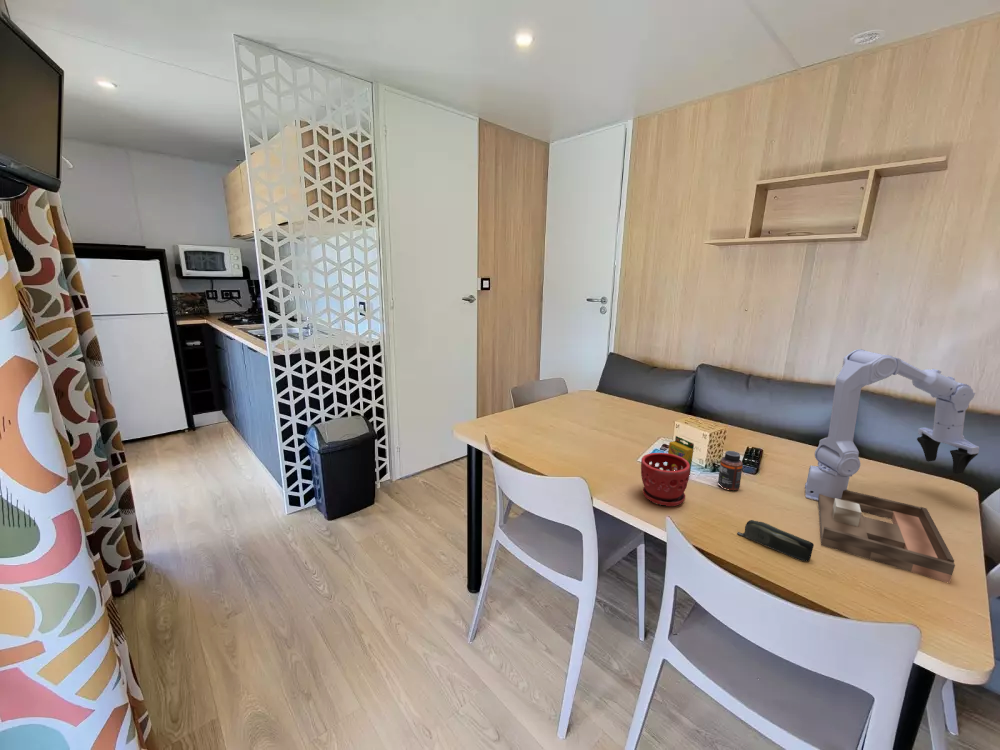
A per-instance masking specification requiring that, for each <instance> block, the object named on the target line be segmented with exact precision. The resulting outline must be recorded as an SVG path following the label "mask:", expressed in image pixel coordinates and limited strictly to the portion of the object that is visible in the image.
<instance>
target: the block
mask: <svg viewBox="0 0 1000 750" xmlns="http://www.w3.org/2000/svg"><path fill="white" fill-rule="evenodd" d="M832 516H833V520H835V521H838V522H842V523H846V524H850V525H853V526H857V527H858V524H859V520H860V516H861V509H860V505H859V504H857V503H853V502H849V501H845V500H841V499H837V498H835V500H834V504H833V509H832Z"/></svg>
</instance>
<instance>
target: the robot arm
mask: <svg viewBox="0 0 1000 750" xmlns="http://www.w3.org/2000/svg"><path fill="white" fill-rule="evenodd" d="M941 373H942V371H941V370H939V369H936V368H932V369H929V368H928V369H927V368H925V369H920V368H918V367H916V366H914V365H913V364H910V363H909V362H907V361H905V360H903V359H901V358H899V357H896V356H893V355H889V354H883V353H878V352H874V351H868V350H865V349H862V348H861V349H855V350H852V351H851V352H849V353H848V354H847V355H845V356H843V361H842V368H841V370H840V371H839V373H838V374H837V377H836V379H835V384H834V391H833V399H832V405H831V406H832V407H831V413H830V420H829V428H828V429H829V430H828V435H827V436H826V437H824V438H822V439H820V440H819V442H818V443H819V444H818V446H817V447H816V448H815V450H814V451H815V452H814V458H815V460H816V461H817V465H810V466H809V469H808V474H807V477H806V482H805V484H804V489H805V498H806V499H809V500H813V501H814V500H815V501H817V502H818V497H819V494H821V495H824V496H827V497H831V498H837V499H841V498H842V494H843V491H844V490H848V486H849V481H850V477H853V476H854V475H856V473H858V472H859V470H860V467H861V461H860V458H859V454H860V452H859V450H858V448H857V446H856V444H855V443H854V439H855V438H854V437H855V431H856V430H855V429H856V425H857V417H858V412H859V411H858V410H859V403H860V400H861V399H860V398H861V392H862V388H864V387H865V386H869V385H872V384H874V383H877V382H879V381H881V380H882V381H883V380H885V379H887V378H889V377H892V375H894V376H896V375H899V376H902V377H903V378H906V379H908V380H911V383H912V385H913V387H915V388H917V389H919V390H921V391H923V392H925V393H928V394H930V396H931V398H935V408H934V418H933V428H929V427H920V428H919V427H918V429H917V435H919V437H917V438H916V441H917V442H918V443H919V445H920V447H921V449H922V451H923V454H924V458H925V461H927V462H928V463H929V462H934V461H936V459H937V457H938V450H939V447H940V445H941V443H942V444H945V445H949V446H951V447H955V448H957V449H951V450H949V453H950V455H951V458H952V472H953V473H954V474H956V475H957V474H963V473H964V471H965V470H966V468H967V467H968V464H969V463H970V462H971V461H972V460H973V459H974V458H975V457H976V456H978V455H979V453H980V452H979V451H980V446H978V445H976V444H974V443H972V442H970V441H969V440H968V439H965V435H963V434H964V426H965V418H966V412H967V410H968V408H969V406H970V403H971V401H972V400H973V399H974V398H975V395H976V393H975V392H974V389H973V388H972V387H971V386H970V385H969V384H967V383H963V382H958V381H956V378H955V377H953V376H946V375H944V374H941Z"/></svg>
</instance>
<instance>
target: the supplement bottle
mask: <svg viewBox="0 0 1000 750" xmlns="http://www.w3.org/2000/svg"><path fill="white" fill-rule="evenodd" d="M724 453H725V454H724V456H723V457H722V458H721V459H720V463H719V473H718V480H717V484H718V483H719V484H720V485H721V486H722V487H723V488H726V489H729V490H737V491H738V490H740V487H741V479H742V472H743V462H742V460H741V454H740V453H739V452H737V451H733V450H726V451H725V452H724ZM723 488H722V489H723Z"/></svg>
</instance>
